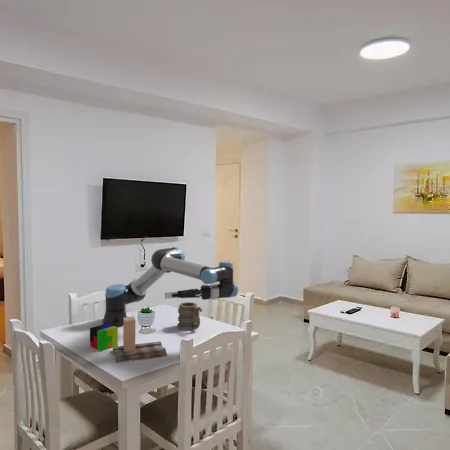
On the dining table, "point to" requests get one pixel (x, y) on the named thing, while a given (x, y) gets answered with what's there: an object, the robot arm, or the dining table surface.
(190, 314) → the tankard
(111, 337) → the puzzle toy
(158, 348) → the wooden plank board
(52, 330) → the dining table surface
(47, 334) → the dining table surface
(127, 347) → the salmon tan rectangular block
